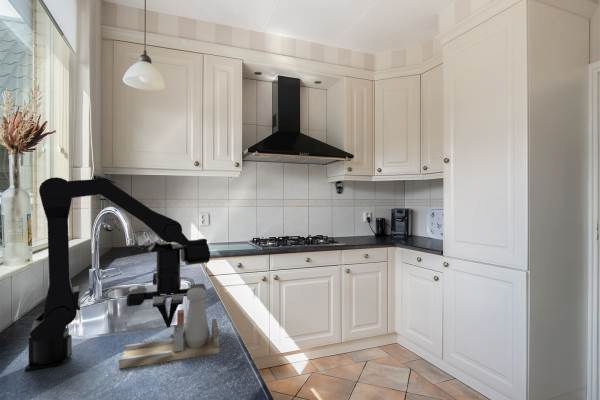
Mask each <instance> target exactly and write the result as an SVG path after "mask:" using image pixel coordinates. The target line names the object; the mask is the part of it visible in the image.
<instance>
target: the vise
mask: <svg viewBox="0 0 600 400" xmlns="http://www.w3.org/2000/svg"><path fill="white" fill-rule="evenodd" d="M217 320H218V319H217V318H213V319H211V334H212V335H211V336H209V338H208V340H207V343H206V344H205V345H204V346H203V347H201V348H195V349H192V348H189V347H187V345H186V343H185V341H184V346H183V350H182V351H176V352H174V342H173V338H168V339H159V340H154V341H146V342H140V343H131V344H126V345H125V346H124V352H123V353H122V354H123V355H122V356H121V357H120V358H119V359H118V369H126V368H132V367H139V366H145V365H151V364H156V363H164V362H169V361H176V360H183V359H188V358H194V357H202V356H207V355H208V356H209V355H213V354H214V355H215V354H219V349H220V347H219V327H218V326H219V325H218V321H217Z"/></svg>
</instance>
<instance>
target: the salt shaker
mask: <svg viewBox="0 0 600 400" xmlns="http://www.w3.org/2000/svg"><path fill="white" fill-rule="evenodd" d="M206 298H207V290H206V291H205V289H204V288H192V289H190V290H188V291H187V296H186V299H187V301H189V304H188V309H187V313H186V320H185V324H184V341H185V343H186V345H187V347H189V348H192V349H195V348H201V347H203V346H204V345H205V344H206V343H207V340H208V338H209V337H210V328H209V322H208V318H207V312H206V305H205V301H204V300H205V299H206Z"/></svg>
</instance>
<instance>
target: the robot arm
mask: <svg viewBox="0 0 600 400" xmlns="http://www.w3.org/2000/svg"><path fill="white" fill-rule="evenodd" d="M38 192H39V196H40V201H41V204H42V209H43V212H44V215H45V219H46V221H47V250H48V255H47V256H48V260H47V261H48V288H47V289H48V290H47V294H46V298H45V304H44V309H43V312H42V313H41V314H39V315H38V316H37V317H36V318H35V319H34V320H33V322H32V326H31V328H30V332H29V336H28V338H27V339H28V364H26V365H25V366H24V371H30V370H37V369H44V368H50V367H51V368H52V367H59V366H62V365H63V364H64V362H65V361H66V360H67V359H68V358H69V357H70V355H71V354H72V352H73V350H72V348H73V347H72V346H73V345H72V344H73V343H72V342H73V341H72V334H70V331H69V330H70V329H69V327H67V326H69V325H70V324H71V323H72V322H73V321H75V319H76V317H77V311H80V310H81V300H80V285H77V286H73V285H72V281H71V278H70V276H71V273H70V245H69V243H70V242H69V241H70V240H69V216H70V211H71V207H72V201H73V198H75V199H76V198H81V197H92V196H100V197H102V198H104V199H105V200H107V201H109V202H110V203H111V204H112V205H115V206H116V207H117V208H119V209H121V210H123V211H124V212H125V213H127V214H129V215H130V216H132V217H133V218H134V219H136V220H138V221H139V222H141V223H142V224H143V225H144V226H145V227H146V228H147V229H148V230H149V231H150V232H151V233H152V234H153V235H154V236H155V237H156V238H158V239H159V240H161V241H163V242H166V243H160V244H159V242H157V241H154V242H152V243H153V244H151V245H150V246H149V247H148V248H147V251H149V252H150V253H156V272H154V273H153V275H152V285H153V286H156V290H155V291H148V288H147V287H144V288H134V289H132V290H131V291H130V292H129V293H128V294H127V296H126V306H127V307H135V306H141V305H142V304H143V303H144V302H145V301H147V300H152V301H153V302H152V307H153V308H157V309H158V311H159V314H161V316H162V317H161V318H162V319H163V321H164V324H165V326H166V328H167V329H168V328H170V327H171V325H172V322H173V319H174V315H175V313H176V311H177V310H178V307H179V306H180V305H183V303H184V297H187V291H188V290H190V289H192V288H204V289H205V291H206V292H207V288H206V285H205V284H204V283H193V284H190V287H189V288H181V287H182V283H181V282H182V281H181V280H182V278H181V262H184V263H185V265H186V266H191V265H200V264H208V263H209V262H210V259H211V251H210V248H209V245H208V240H207V238H199V239H189V238H188V237H187V236H185V234H184V232H183V227H182V226H183V225H181V223H180V222H178V220H176V219H173V218H171V217H168V216H166V215H164V214H161V213H158V212H157V211H154V210H152V209H151V208H149V207H148V206H146V205H145V204H143V203H142V202H141V201H139V200H138V199H136V198H134V197H133V196H131V195H130V194H129V193H127V192H126V191H124V190H123V189H121V188H119V187H118V186H116V185H115V184H114V183H112V182H111V180H110V179H108V178H106V177H98V178H93V179H77V180H76V179H75V180H68V179H67V180H66V179H65V178H63V177H58V176H57V177H55V176H54V177H50V178H47V179H45V180H44V181H42V182H41V184H40V185H39V189H38ZM172 243H175V244H178V245H179V246H173V245H172ZM167 298H171V300H170V306H169V308H168V299H167ZM168 309H169V310H168Z"/></svg>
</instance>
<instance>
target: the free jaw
mask: <svg viewBox="0 0 600 400" xmlns="http://www.w3.org/2000/svg"><path fill="white" fill-rule="evenodd" d="M176 311H177V313H176V317H177V318H176V325H175V324H174V326H173V338H172V339H173V342H174V352H176V351H182V350H183V346H184V330H185V309H177V310H176Z"/></svg>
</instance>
